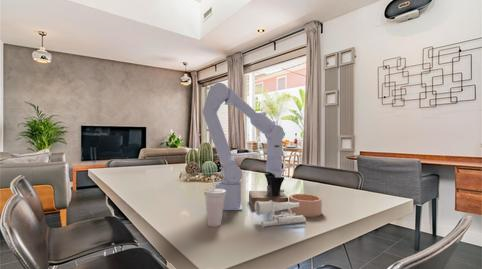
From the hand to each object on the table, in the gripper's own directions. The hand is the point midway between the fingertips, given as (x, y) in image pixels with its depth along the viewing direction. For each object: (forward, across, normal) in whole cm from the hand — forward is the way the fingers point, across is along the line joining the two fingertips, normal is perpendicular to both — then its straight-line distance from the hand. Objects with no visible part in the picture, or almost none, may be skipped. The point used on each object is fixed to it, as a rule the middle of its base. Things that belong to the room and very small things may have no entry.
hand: (273, 194), depth 90 cm
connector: (0, 0, 0) cm, 0 cm away
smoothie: (+5, -19, +21) cm, 29 cm away
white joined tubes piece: (+5, -18, +1) cm, 18 cm away
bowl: (+4, -8, -10) cm, 13 cm away
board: (+4, +2, +2) cm, 5 cm away
